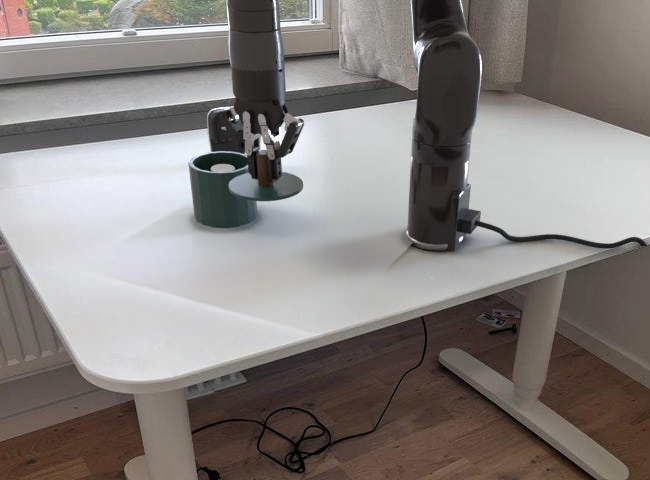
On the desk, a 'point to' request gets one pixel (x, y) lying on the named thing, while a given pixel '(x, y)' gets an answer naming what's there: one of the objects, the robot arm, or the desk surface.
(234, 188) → the lid
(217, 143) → the battery charger
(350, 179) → the desk surface
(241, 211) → the tin
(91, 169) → the desk surface
